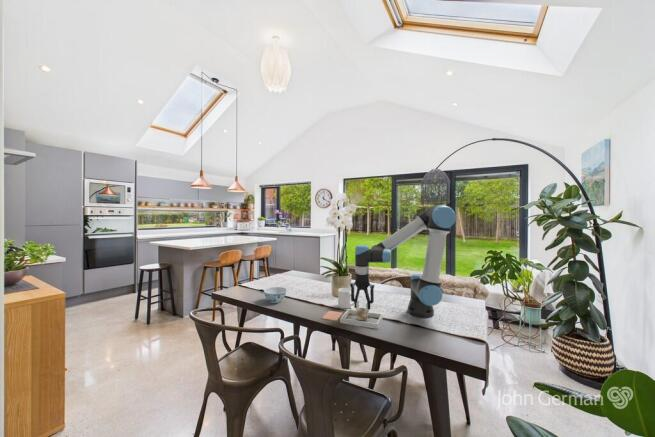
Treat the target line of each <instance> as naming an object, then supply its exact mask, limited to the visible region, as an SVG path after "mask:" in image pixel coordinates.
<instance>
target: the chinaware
mask: <svg viewBox="0 0 655 437" xmlns="http://www.w3.org/2000/svg"><path fill="white" fill-rule="evenodd" d="M263 293H264V296H265V299H266V300H268V301H269V303H271V304H278V303H280V302H281V301H282V300H283V299H284V298H285V296H286V295H287V288H285V287H281V286H274V287H268V288H265V289H264V290H263Z"/></svg>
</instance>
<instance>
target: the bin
mask: <svg viewBox="0 0 655 437" xmlns="http://www.w3.org/2000/svg"><path fill="white" fill-rule="evenodd" d="M349 315H355V316H357V315H356V309H350V308H347V310H346V311H345V312H343V314H342V315H341V316H340V318H339V323H340V324H345V325H351V326H358V327H364V328H371V329H377V330H379V328H380V325H381V323H382V321H383V319H384V314H383V313H379V312H374V311H373V312H371V311H369V315H368V318H375V319H378V320H377V322H369V321H364V320H357V319H351V318H347V317H348V316H349Z"/></svg>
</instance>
